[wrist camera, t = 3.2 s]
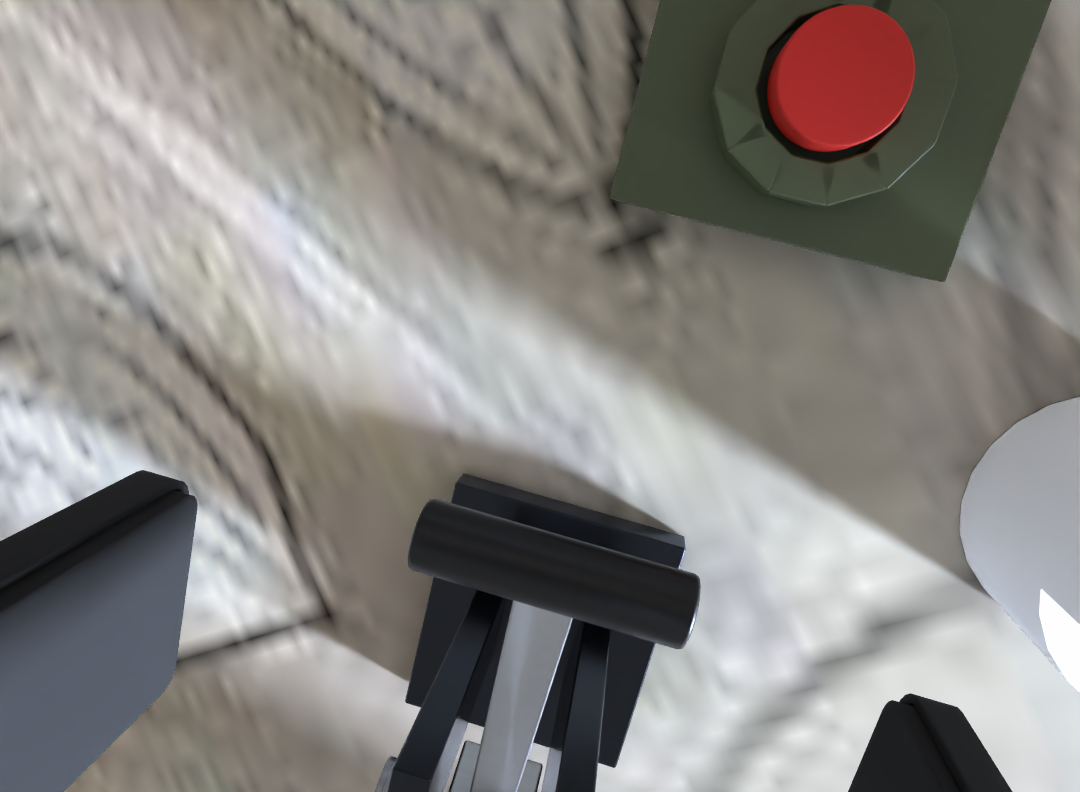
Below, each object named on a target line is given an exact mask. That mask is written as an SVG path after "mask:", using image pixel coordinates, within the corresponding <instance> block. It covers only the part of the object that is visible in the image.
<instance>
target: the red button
mask: <svg viewBox="0 0 1080 792" xmlns="http://www.w3.org/2000/svg"><path fill="white" fill-rule="evenodd" d="M914 78H915V59H914V53H913V49H912V46H911V44H910V41H909V39H908V37H907V35H906V34H905V32H904V30H903V29H902V28H901V27H900V25H899V24H898V23H897V22H896V21H895V20H894V19H892V18H891V17H890V16H888V15H887V14H885V13H884V12H882V11H879V10H877V9H875V8H872V7H868V6H863V5H843V6H837V7H833V8H830V9H827V10H825V11H822V12H820V13H818V14H817V15H815V16H813V17H812V18H810V19H809V20H807V21H806V22H805V23H804V24H803V25H802V26H800V27H799V28H798V29H797V30H796V32H795V33H794V34H793V35H792V36H791V38H790V39H789V40H788V42H787V43H786V44H785V45H784V47H783V48H782V50H781V51H780V52H779V54H778V55H777V57H776V59H775V61H774V63H773V65H772V68H771V71H770V74H769V78H768V84H767V101H768V107H769V111H770V114H771V116H772V119H773V121H774V123H775V124H776V126H777V128H778V129H779V130H780V131H781V133H782V134H783V135H784V136H785V137H786V138H787V139H789V140H790V141H791V142H793V143H794V144H796V145H798V146H800V147H802V148H805V149H808V150H811V151H817V152H834V151H839V150H844V149H847V148H849V147H852V146H855V145H858V144H860V143H863V142H866V141H868V140H870V139H872V138H874V137H876V136H877V135H879V134H880V133H882V132H883V131H884V130H885V129H887V128H888V127H889V126H890V125H891V124H892V123H893V122H894V121H895V120H896V119H897V117H898V116H899V115H900V113H901V112H902V110H903V109H904V107H905V105H906V103H907V102H908V99H909V97H910V94H911V91H912V88H913V84H914Z"/></svg>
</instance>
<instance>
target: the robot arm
mask: <svg viewBox="0 0 1080 792" xmlns="http://www.w3.org/2000/svg"><path fill="white" fill-rule="evenodd" d="M196 514H197V500H196V498H195V497H194V496H192V495H189V491H188V487H187V485H186V484H185V482H183V481H179V480H176V479H172V478H169V477H165V476H162V475H158V474H155V473H152V472H148V471H144V470H142V471H138V472H136V473H134V474H132V475H130V476H128V477H126V478H124V479H122V480H120V481H118V482H116V483H114V484H112V485H110V486H108V487H106V488H104V489H102V490H100V491H98V492H96V493H94V494H92V495H90V496H88V497H86V498H84V499H83V500H81V501H79V502H77V503H75V504H73V505H71V506H69V507H67V508H65V509H63V510H61V511H59V512H57V513H55V514H53V515H51V516H49V517H47V518H45V519H43V520H41V521H39V522H37V523H35V524H33V525H32V526H30V527H28V528H26V529H24V530H22V531H20V532H18V533H16V534H14V535H12V536H10V537H8V538H6V539H4V540H2V541H0V792H64V791H65V790H66V789H67V788H68V787H69V786H70V785H71V784H72V783H73V782H74V781H75V780H76V779H77V778H78V777H79V776H80V775H81V774H82V773H83V772H84V771H85V770H86V769H87V768H88V767H89V766H90V765H91V764H92V763H93V762H94V761H95V760H96V759H97V758H98V757H99V756H100V755H101V754H102V753H103V752H104V751H105V750H106V749H107V748H108V747H109V746H110V745H111V744H112V743H113V742H114V741H115V740H116V739H117V738H118V737H119V736H120V735H121V734H122V733H123V732H124V731H125V730H126V729H127V728H128V727H129V726H130V725H131V724H132V723H133V722H134V721H135V720H136V719H137V718H138V717H139V716H140V715H141V714H142V713H143V712H144V711H145V710H146V709H147V708H148V707H149V706H150V705H151V704H152V703H153V702H154V701H155V700H156V699H157V698H158V697H159V696H160V695H161V694H162V693H163V692H164V691H165V689H166V688H167V686H168V685H169V683H170V681H171V679H172V676H173V674H174V671H175V667H176V661H177V653H178V646H179V639H180V631H181V624H182V617H183V609H184V602H185V595H186V587H187V580H188V573H189V565H190V558H191V551H192V543H193V536H194V529H195V521H196ZM848 792H1012V790H1011V789H1010V787H1009V786H1008V784H1007V783H1006V781H1005V779H1004V778H1003V776H1002V775H1001V773H1000V771H999V770H998V768H997V767H996V765H995V763H994V762H993V760H992V759H991V757H990V756H989V754H988V752H987V751H986V749H985V748H984V746H983V744H982V743H981V741H980V740H979V738H978V736H977V735H976V733H975V732H974V730H973V729H972V727H971V725H970V724H969V722H968V721H967V719H966V717H965V716H964V714H963V713H962V712H961V711H960V709H959V708H958V707H955V706H952V705H948V704H945V703H941V702H938V701H934V700H931V699H928V698H924V697H921V696H917V695H914V694H907V695H905V696H904V697H903V698H902V699H901V700H900V702H897V701H893V700H892V701H889V702H888V703H887V704H886V705H885V707H884V709H883V710H882V713H881V715H880V717H879V720H878V722H877V725H876V727H875V729H874V732H873V734H872V736H871V739H870V741H869V743H868V746H867V748H866V751H865V753H864V755H863V758H862V760H861V762H860V765H859V767H858V770H857V772H856V774H855V777H854V779H853V781H852V784H851V786H850V789H849V791H848Z"/></svg>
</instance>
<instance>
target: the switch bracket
mask: <svg viewBox="0 0 1080 792" xmlns="http://www.w3.org/2000/svg"><path fill="white" fill-rule="evenodd" d="M451 503H452V504H455V505H459V506H462V507H466V508H469V509H473V510H476V511H479V512H483V513H486V514H490V515H493V516H497V517H500V518H504V519H507V520H511V521H514V522H517V523H521V524H524V525H528V526H531V527H535V528H538V529H542V530H545V531H549V532H552V533H555V534H559V535H562V536H566V537H569V538H573V539H576V540H580V541H583V542H587V543H590V544H593V545H597V546H600V547H604V548H607V549H611V550H614V551H618V552H621V553H625V554H628V555H631V556H635V557H638V558H642V559H645V560H649V561H652V562H656V563H659V564H663V565H666V566H669V567H673V568H676V569H680V566H681V562H682V559H683V556H684V553H685V550H686V549H685V539H684V537H683V536H681V535H677V534H674V533H670V532H667V531H663V530H660V529H656V528H653V527H649V526H646V525H642V524H639V523H635V522H632V521H628V520H625V519H621V518H618V517H614V516H611V515H607V514H604V513H600V512H597V511H593V510H590V509H586V508H583V507H579V506H576V505H572V504H569V503H565V502H562V501H558V500H555V499H551V498H548V497H544V496H541V495H537V494H534V493H530V492H527V491H523V490H520V489H516V488H513V487H509V486H506V485H502V484H499V483H495V482H492V481H488V480H485V479H481V478H478V477H474V476H471V475H467V474H462V476H461V477H460V478H459V480H458V481H457V482H456V484H455V488H454V492H453V497H452V501H451ZM512 603H513V600H510V599H507V598H503V597H500V596H497V595H493V594H490V593H487V592H483V591H480V590H477V589H473V588H470V587H467V586H463V585H460V584H456V583H453V582H450V581H446V580H443V579H440V578H436V577H434V579H433V583H432V587H431V592H430V596H429V600H428V605H427V609H426V613H425V618H424V622H423V626H422V631H421V635H420V639H419V644H418V648H417V652H416V657H415V661H414V665H413V670H412V674H411V678H410V682H409V687H408V691H407V695H406V700H405V702H406V703H408V704H412V705H415V706H418V707H421V709H420V711H419V713H418V716H417V718H416V720H415V722H414V724H413V726H412V728H411V730H410V733H409V735H408V737H407V739H406V741H405V743H404V745H403V747H402V749H401V752H400V754H399V756H398V758H396V757H392V756H391V757H389V759H388V760H387V762H386V764H385V766H384V768H383V770H382V773H381V775H380V778H379V781H378V784H377V787H376V790H375V792H443V791H444V788H445V785H446V783H447V780H448V777H449V774H450V772H451V769H452V766H453V763H454V761H455V758H456V755H457V752H458V750H459V747H460V744H461V741H462V739H463V736H464V733H465V730H466V728H467V725H468V722H469V723H473V724H476V725H479V726H482V727H485V723H486V718H487V714H488V709H489V705H490V700H491V696H492V692H493V687H494V683H495V678H496V674H497V670H498V665H499V661H500V656H501V652H502V648H503V643H504V639H505V634H506V630H507V625H508V621H509V617H510V612H511V608H512ZM655 644H656V643H655V642H651V641H648V640H645V639H641V638H638V637H634V636H631V635H628V634H624V633H621V632H618V631H614V630H611V629H608V628H604V627H601V626H597V625H594V624H591V623H587V622H584V621H581V620H577V619H574V618H573V619H572V622H571V626H570V629H569V632H568V635H567V638H566V641H565V644H564V647H563V650H562V653H561V657H560V660H559V663H558V666H557V669H556V672H555V675H554V678H553V681H552V685H551V688H550V691H549V694H548V697H547V700H546V703H545V706H544V709H543V712H542V716H541V719H540V722H539V725H538V728H537V731H536V734H535V737H534V740H533V743H537V744H540V745H543V746H546V747H549V748H550V749H549V754H548V760H547V765H546V770H545V775H544V780H543V786H542V791H541V792H595V787H596V777H597V767H598V763H601V764H604V765H607V766H610V767H613V768H615V767H616V765H617V762H618V759H619V756H620V753H621V750H622V746H623V743H624V740H625V737H626V734H627V731H628V728H629V725H630V721H631V718H632V715H633V712H634V709H635V706H636V703H637V700H638V697H639V693H640V690H641V687H642V684H643V681H644V678H645V675H646V672H647V668H648V665H649V662H650V659H651V656H652V653H653V650H654V647H655Z"/></svg>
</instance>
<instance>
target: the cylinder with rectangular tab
mask: <svg viewBox="0 0 1080 792" xmlns="http://www.w3.org/2000/svg"><path fill="white" fill-rule="evenodd" d="M960 536H961V540H962V544H963V548H964V552H965V555H966V559H967V562H968V564H969V566H970V567H971V569H972V571H973V572H974V574H975V575H976V577H977V579H978V580H979V582H980V583H981V585H982V587H983V588H984V589H985V590H986V591H987V592H988V594H989V595H990V596H991V597H992V598H993V599H994V600H995V601H996V602H997V603H998V605H999V606H1000V607H1001V608H1002V609H1003V610H1004V611H1005V612H1006V613H1007V615H1008V616H1009V617H1010V618H1011V619H1012V620H1013V621H1014V622H1015V623H1016V625H1017V626H1018V627H1019V628H1020V629H1021V630H1022V631H1023V632H1024V633H1025V635H1026V636H1027V637H1028V638H1029V639H1030V640H1031V641H1032V642H1033V643H1034V644H1035V646H1036V647H1037V648H1038V649H1039V650H1040V651H1041V652H1042V653H1043V654H1044V656H1045V657H1046V658H1047V659H1048V660H1049V661H1050V662H1051V663H1052V664H1053V666H1054V667H1055V668H1056V669H1057V670H1058V671H1059V672H1060V673H1061V674H1062V675H1063V677H1064V678H1065V679H1066V680H1067V681H1068V682H1069V683H1070V684H1071V685H1073V686H1074V687H1075V688H1076V689H1077V690H1078V691H1079V692H1080V397H1077V398H1073V399H1069V400H1066V401H1062V402H1058V403H1055V404H1051V405H1048V406H1047V407H1045V408H1043V409H1041V410H1039V411H1037V412H1035V413H1033V414H1032V415H1030V416H1028V417H1026V418H1024V419H1022V420H1020V421H1018V422H1017V423H1016V424H1014V425H1013V426H1012V427H1011V428H1010V429H1009V430H1008V431H1007V432H1005V433H1004V434H1003V435H1002V436H1001V437H1000V438H999V439H997V440H996V441H995V442H994V443H993V444H992V445H991V446H990V447H989V449H988V450H987V451H986V453H985V454H984V456H983V457H982V459H981V460H980V462H979V463H978V465H977V466H976V467H975V469H974V470H973V472H972V473H971V476H970V479H969V482H968V485H967V488H966V491H965V493H964V496H963V499H962V502H961V517H960Z"/></svg>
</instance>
